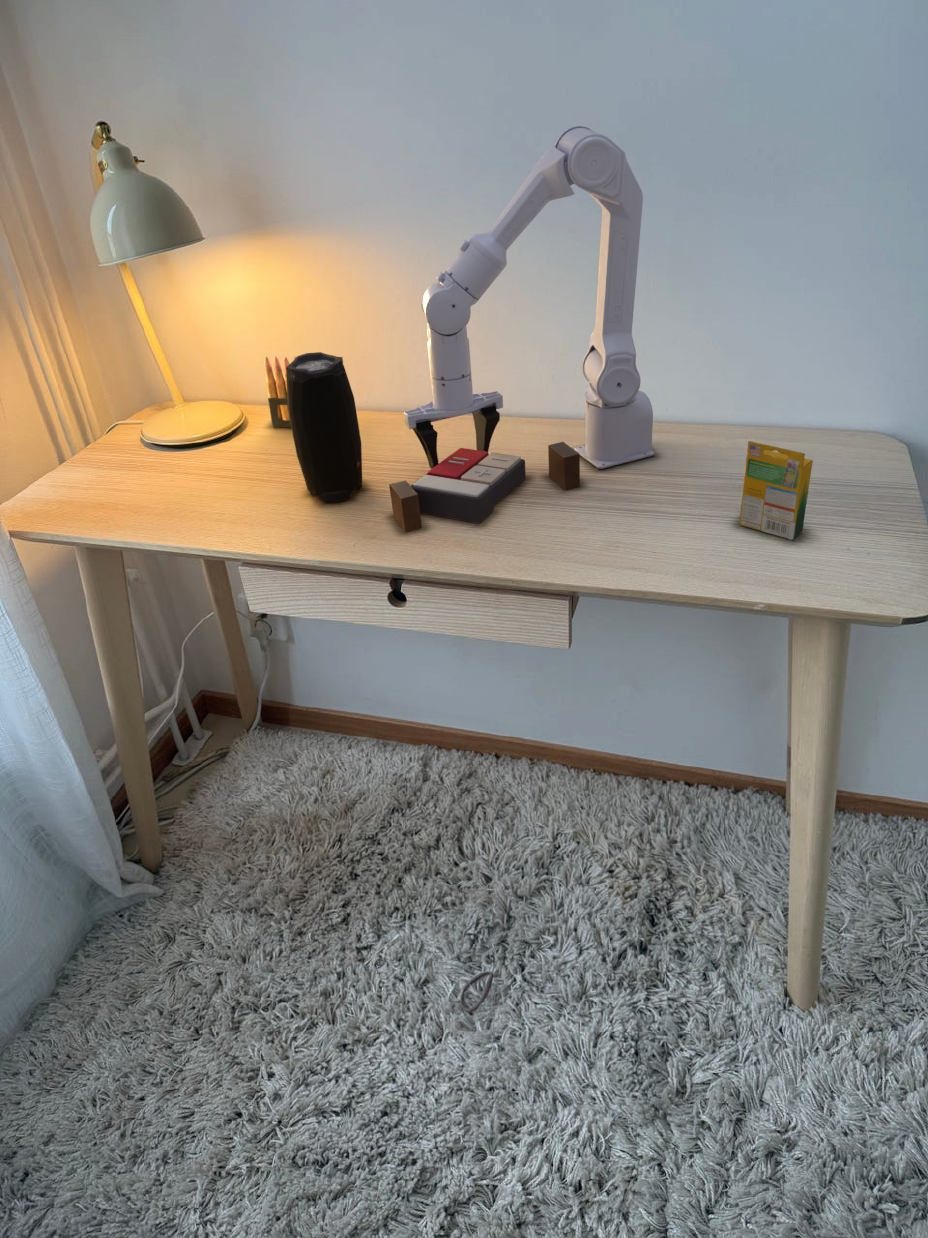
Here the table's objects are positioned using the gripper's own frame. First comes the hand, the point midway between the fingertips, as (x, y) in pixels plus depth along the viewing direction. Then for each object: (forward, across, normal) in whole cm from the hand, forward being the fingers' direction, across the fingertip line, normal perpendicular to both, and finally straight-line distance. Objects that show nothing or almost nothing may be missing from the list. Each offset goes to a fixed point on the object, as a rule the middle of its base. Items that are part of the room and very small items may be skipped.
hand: (458, 462), depth 136 cm
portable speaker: (+2, +18, -4) cm, 19 cm away
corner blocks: (+2, 0, +10) cm, 11 cm away
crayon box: (+2, -28, +36) cm, 46 cm away
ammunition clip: (+2, +16, -32) cm, 36 cm away
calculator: (+2, +1, +7) cm, 8 cm away
